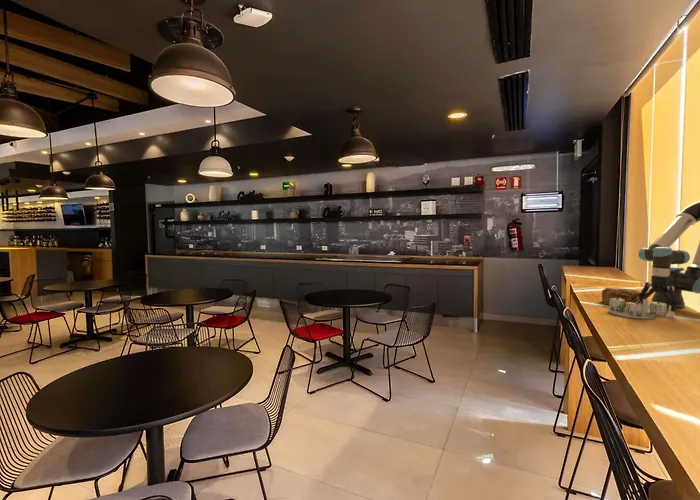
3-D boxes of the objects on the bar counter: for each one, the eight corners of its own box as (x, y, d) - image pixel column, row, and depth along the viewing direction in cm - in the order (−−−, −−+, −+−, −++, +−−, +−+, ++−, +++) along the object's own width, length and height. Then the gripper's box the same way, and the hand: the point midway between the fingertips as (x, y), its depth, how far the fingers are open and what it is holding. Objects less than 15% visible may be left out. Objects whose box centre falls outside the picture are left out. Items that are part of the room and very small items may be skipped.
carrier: (628, 308, 209) (629, 295, 208) (664, 318, 189) (665, 303, 188) (599, 310, 205) (600, 297, 204) (633, 320, 185) (634, 305, 184)
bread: (605, 305, 217) (606, 289, 216) (600, 301, 227) (601, 285, 226) (643, 308, 210) (644, 291, 209) (637, 304, 219) (638, 288, 218)
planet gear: (656, 312, 201) (656, 301, 200) (669, 315, 194) (669, 304, 194) (646, 312, 199) (647, 302, 199) (659, 316, 193) (659, 305, 192)
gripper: (632, 272, 206) (629, 308, 208) (680, 279, 182) (676, 320, 184) (643, 271, 208) (640, 307, 210) (691, 279, 183) (688, 319, 185)
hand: (657, 313), depth 197 cm, fingers open, 13 cm apart
